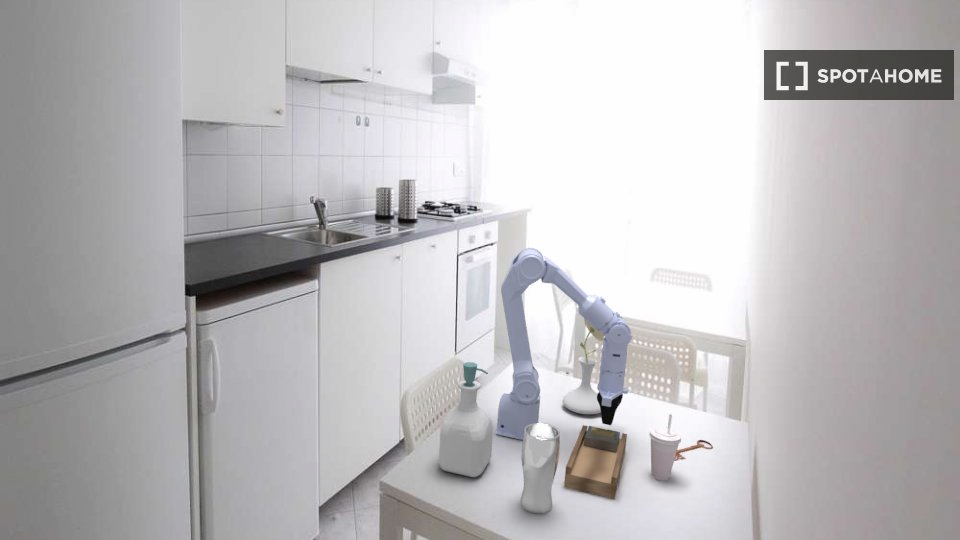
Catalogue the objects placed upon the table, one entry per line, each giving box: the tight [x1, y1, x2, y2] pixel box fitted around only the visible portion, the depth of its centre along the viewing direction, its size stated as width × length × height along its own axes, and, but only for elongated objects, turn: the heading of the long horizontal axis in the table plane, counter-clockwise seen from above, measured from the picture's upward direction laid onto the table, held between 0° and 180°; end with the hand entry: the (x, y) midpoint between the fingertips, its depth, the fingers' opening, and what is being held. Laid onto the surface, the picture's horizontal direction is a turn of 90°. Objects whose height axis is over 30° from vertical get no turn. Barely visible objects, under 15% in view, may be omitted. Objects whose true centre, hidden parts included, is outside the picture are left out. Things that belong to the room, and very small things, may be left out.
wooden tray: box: [563, 424, 628, 500], centre depth 122 cm, size 10×20×4 cm, turn 160°
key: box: [674, 439, 714, 462], centre depth 132 cm, size 6×1×15 cm
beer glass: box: [519, 422, 561, 515], centre depth 107 cm, size 7×7×15 cm
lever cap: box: [584, 425, 621, 452], centre depth 127 cm, size 7×6×3 cm
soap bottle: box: [438, 361, 494, 478], centre depth 118 cm, size 10×10×23 cm
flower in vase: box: [562, 318, 605, 415], centre depth 150 cm, size 13×11×25 cm
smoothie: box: [648, 413, 682, 481], centre depth 119 cm, size 6×6×14 cm
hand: (607, 423), depth 135 cm, fingers closed
